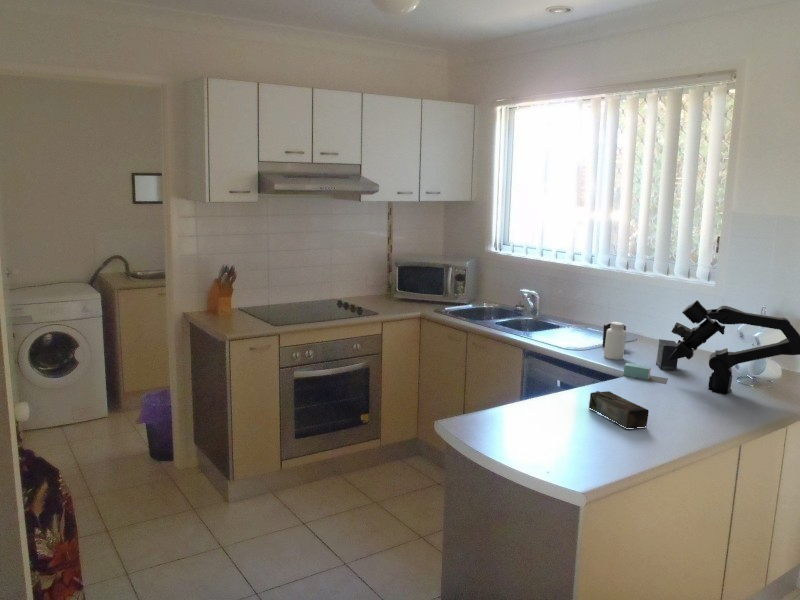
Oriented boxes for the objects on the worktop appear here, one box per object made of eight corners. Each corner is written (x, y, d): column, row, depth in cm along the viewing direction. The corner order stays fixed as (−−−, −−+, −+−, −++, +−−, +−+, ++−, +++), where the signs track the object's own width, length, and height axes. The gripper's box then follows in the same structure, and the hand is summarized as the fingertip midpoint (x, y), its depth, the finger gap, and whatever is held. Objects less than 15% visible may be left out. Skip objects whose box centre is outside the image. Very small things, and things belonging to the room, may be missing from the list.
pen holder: (599, 344, 301) (601, 322, 299) (620, 345, 300) (622, 323, 299) (604, 349, 292) (607, 327, 290) (626, 350, 291) (628, 328, 289)
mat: (668, 379, 251) (668, 378, 251) (665, 385, 244) (665, 383, 244) (637, 374, 256) (637, 373, 256) (634, 379, 249) (634, 378, 249)
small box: (677, 372, 261) (680, 346, 259) (659, 370, 262) (662, 345, 260) (672, 365, 271) (675, 340, 269) (655, 363, 273) (658, 338, 271)
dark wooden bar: (607, 407, 219) (609, 388, 217) (648, 429, 201) (650, 408, 200) (587, 409, 216) (589, 390, 215) (626, 432, 198) (629, 411, 197)
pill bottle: (625, 361, 274) (628, 325, 271) (605, 359, 275) (608, 324, 273) (621, 356, 282) (625, 321, 279) (602, 354, 283) (605, 320, 280)
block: (651, 366, 252) (626, 362, 256) (649, 369, 248) (624, 365, 252) (649, 376, 252) (625, 372, 256) (648, 379, 249) (623, 375, 253)
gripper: (688, 311, 249) (657, 337, 257) (683, 322, 233) (649, 350, 241) (711, 332, 247) (678, 358, 254) (707, 345, 231) (672, 372, 238)
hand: (669, 359), depth 247 cm, fingers closed
